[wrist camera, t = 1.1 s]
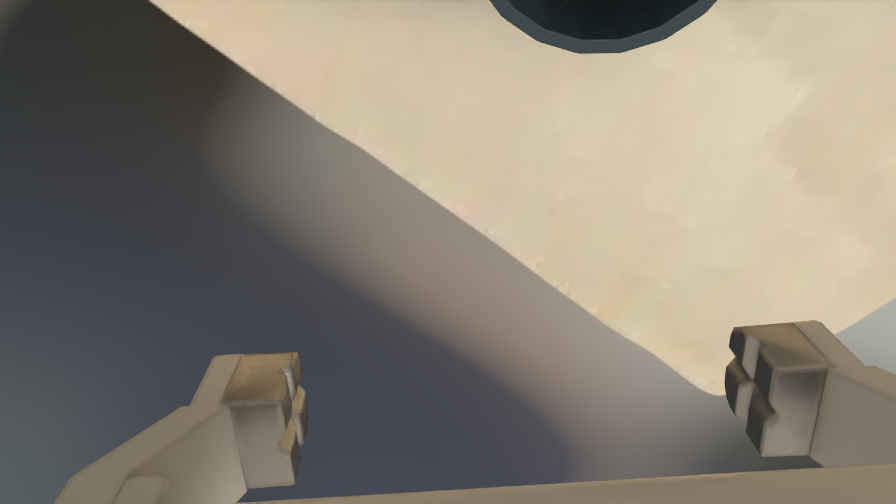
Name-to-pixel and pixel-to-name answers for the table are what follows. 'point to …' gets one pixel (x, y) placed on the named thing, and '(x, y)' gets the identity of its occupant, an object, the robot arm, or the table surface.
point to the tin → (601, 21)
